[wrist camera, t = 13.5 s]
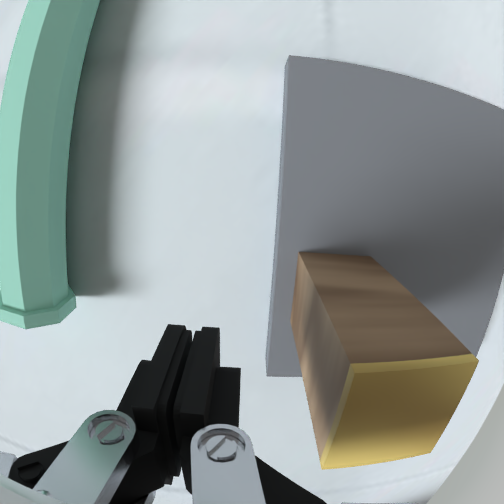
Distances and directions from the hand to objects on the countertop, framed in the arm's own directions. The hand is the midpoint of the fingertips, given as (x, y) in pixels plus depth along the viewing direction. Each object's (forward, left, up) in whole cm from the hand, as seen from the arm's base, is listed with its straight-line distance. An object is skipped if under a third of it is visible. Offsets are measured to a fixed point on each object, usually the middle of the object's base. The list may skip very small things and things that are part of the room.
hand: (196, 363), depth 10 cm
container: (+10, +11, -10) cm, 18 cm away
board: (+3, -11, -9) cm, 15 cm away
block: (0, -6, -7) cm, 9 cm away
